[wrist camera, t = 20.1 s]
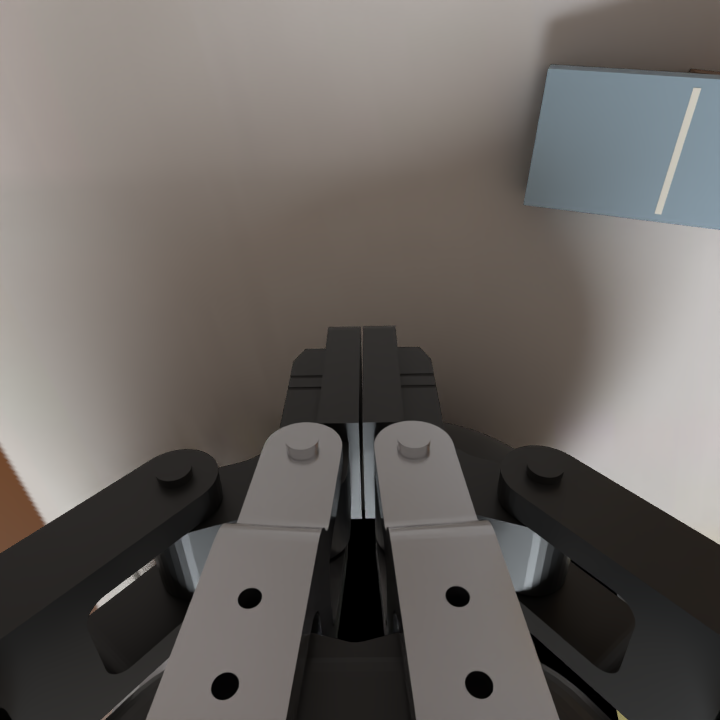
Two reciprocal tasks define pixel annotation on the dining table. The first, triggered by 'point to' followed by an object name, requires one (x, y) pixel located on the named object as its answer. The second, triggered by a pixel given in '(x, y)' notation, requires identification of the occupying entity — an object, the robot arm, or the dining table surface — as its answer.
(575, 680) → the bowl of black rocks
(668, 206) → the tile
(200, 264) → the dining table surface
